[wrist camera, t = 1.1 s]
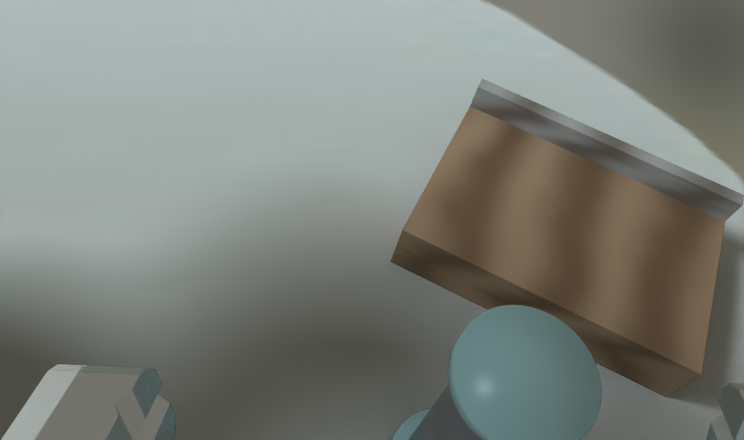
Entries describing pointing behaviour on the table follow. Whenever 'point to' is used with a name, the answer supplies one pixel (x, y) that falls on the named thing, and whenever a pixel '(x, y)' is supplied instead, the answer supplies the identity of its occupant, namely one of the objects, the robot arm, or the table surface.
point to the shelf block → (574, 235)
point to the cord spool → (513, 382)
